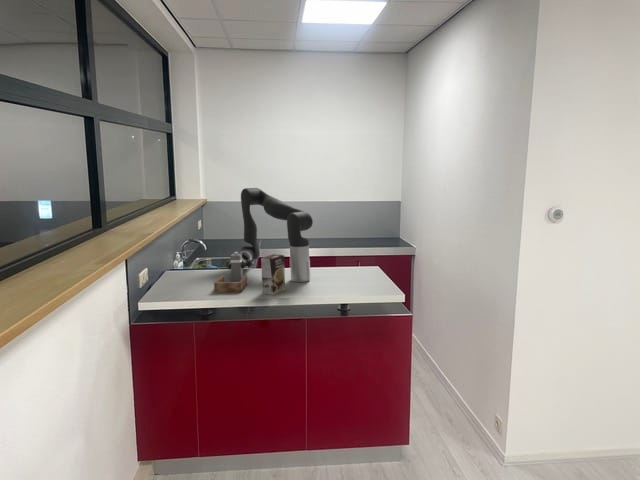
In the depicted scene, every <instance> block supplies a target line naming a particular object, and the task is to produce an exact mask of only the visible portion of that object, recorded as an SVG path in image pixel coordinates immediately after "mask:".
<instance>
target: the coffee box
mask: <svg viewBox="0 0 640 480" xmlns="http://www.w3.org/2000/svg"><path fill="white" fill-rule="evenodd" d="M260 260H261V261H260V263H261V266H260V267H261V286H262V287H261V288H262V289H261V290H262V292H261V293H263V294H267V295H271V296H273V295H277V294H279V293H281V292H283V291H286V276H285V255H284V254H275V253H274V254H270V255H266V256H263V257H260Z"/></svg>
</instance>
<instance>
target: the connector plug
mask: <svg viewBox="0 0 640 480" xmlns="http://www.w3.org/2000/svg"><path fill="white" fill-rule="evenodd" d="M229 260H230V262H231V269H230V270H231V272H230V273H231V282H240V281H241V280H242V278H243V277H244V271H243V270H244V268H243V269H242V268H241V264H242V260H243V258H242V254H239V252H238V251H234V253H231V255H230V259H229Z"/></svg>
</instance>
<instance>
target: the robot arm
mask: <svg viewBox="0 0 640 480" xmlns="http://www.w3.org/2000/svg"><path fill="white" fill-rule="evenodd" d="M240 203H241V213H242V220H243V241H244V242H245V243H247V244H250V245H251V246H249V245H245V246H242V247H241V248H240V252H238V254H242V258H243V260H242V264H241V268H242V269H243V270H244V269H245V268H247V267H248V268H251V267H252V266H254V264H255V261H254V260H258V259H259V257H260V253H261V252H260V249H259V245H258V240H257V239H258V236H257V235H258V234H257V233H258V230H257V229H258V227H257V223H256V221H255V219H254V218H253V216H252V213H251V209H250V208H251V206H262V207H263V209H264V212H265V213H266V214H267V215H268V216H270V217H272V218H273V219H276V220H281V221H286V228H287V238H288V242H289V256H290V257H289V260H290V261H289V262H290V281H291V282H295V283H305V282H310V280H311V259H310V240H309V239H308V238H307V237H303V236H302V234H301V232H303V231H308V230H310V229H311V227H312V226H313V224H314V223H313V221H314V220H313V218H312V216H311V215H310V213H309V212H307V211H304V210H302V209H298V208H296V207H294V206H292V205H289V204H288V203H286V202H283V201H282V200H279V199H278V198H275V197H274V196H271V195H269V194H267V192H266V191H264V190H262V189H261V188H258V187H247V188H246V187H245V188H243V189H242V190H241V192H240ZM230 260H231V259H227V260H226V261H225V267H226V268H227V269H228V270H231V262H230Z"/></svg>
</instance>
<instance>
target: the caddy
mask: <svg viewBox="0 0 640 480" xmlns="http://www.w3.org/2000/svg"><path fill="white" fill-rule="evenodd" d="M213 285H214V293H215V294H221V293H222V294H225V293H226V294H227V293H228V294H232V293H233V294H234V293H235V294H238V293H242V292H244V290H245V289H246V288H247V286H248V275H243V278H242V280H241V281H240V282H232V281H231V282H230V281H229V282H226V281H225V275H221V276H220V277H219V278H218V279H217V280H216V281H215V282H214V283H213Z"/></svg>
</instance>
